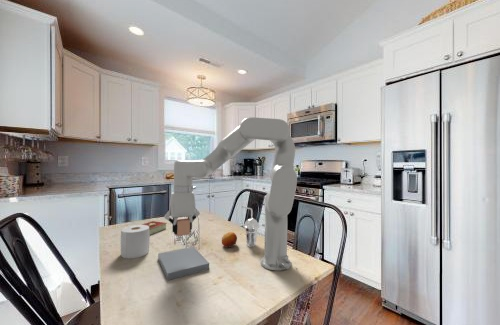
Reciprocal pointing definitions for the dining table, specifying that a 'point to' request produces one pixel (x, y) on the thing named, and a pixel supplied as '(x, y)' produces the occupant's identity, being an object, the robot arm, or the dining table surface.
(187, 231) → the terracotta block
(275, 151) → the robot arm
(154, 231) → the hardcover book
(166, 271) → the slate board
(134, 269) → the dining table surface
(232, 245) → the fruit
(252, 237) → the cup with straw
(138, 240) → the toilet paper roll
